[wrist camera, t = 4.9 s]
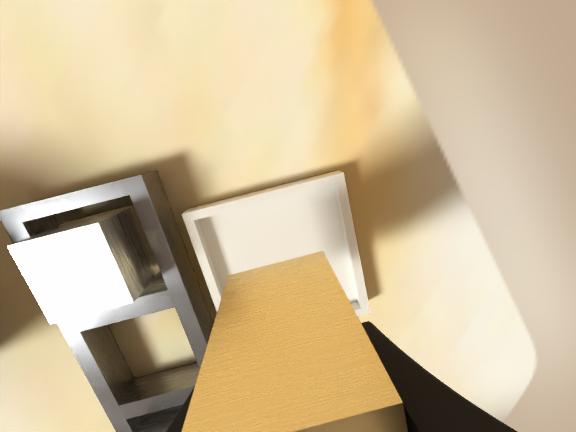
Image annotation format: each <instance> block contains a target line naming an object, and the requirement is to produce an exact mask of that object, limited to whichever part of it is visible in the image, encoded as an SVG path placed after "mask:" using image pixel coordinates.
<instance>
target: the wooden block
mask: <svg viewBox="0 0 576 432" xmlns="http://www.w3.org/2000/svg"><path fill="white" fill-rule="evenodd" d="M182 432H408V429H407V423H406V417H405V412H404V406H403V402H402V400H401V398H400V396H399V394H398V392H397V390H396V389H395V387H394V385H393V383H392V381H391V379H390V377H389V375H388V373H387V371H386V370H385V368H384V366H383V364H382V362H381V360H380V358H379V356H378V354H377V353H376V351H375V349H374V347H373V345H372V343H371V341H370V339H369V337H368V335H367V334H366V332H365V330H364V328H363V326H362V324H361V322H360V320H359V318H358V316H357V315H356V313H355V311H354V309H353V307H352V305H351V303H350V301H349V299H348V297H347V296H346V294H345V292H344V290H343V288H342V286H341V284H340V282H339V280H338V278H337V277H336V275H335V273H334V271H333V269H332V267H331V265H330V263H329V261H328V260H327V258H326V256H325V254H324V252H323V251H320V252H317V253H313V254H309V255H305V256H301V257H297V258H293V259H289V260H286V261H282V262H278V263H274V264H270V265H266V266H262V267H258V268H255V269H251V270H247V271H243V272H239V273H235V274H231V275H228V278H227V281H226V284H225V288H224V291H223V294H222V298H221V301H220V304H219V308H218V311H217V314H216V318H215V321H214V324H213V328H212V331H211V335H210V338H209V341H208V345H207V348H206V351H205V355H204V358H203V361H202V365H201V368H200V371H199V375H198V378H197V381H196V385H195V388H194V392H193V395H192V398H191V402H190V405H189V408H188V412H187V415H186V418H185V422H184V425H183V428H182Z"/></svg>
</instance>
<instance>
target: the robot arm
mask: <svg viewBox="0 0 576 432" xmlns="http://www.w3.org/2000/svg"><path fill="white" fill-rule="evenodd" d="M361 324H362V326H363V328H364V330H365V332H366V334H367V335H368V337H369V339H370V341H371V343H372V345H373V347H374V349H375V351H376V353H377V354H378V356H379V358H380V360H381V362H382V364H383V366H384V368H385V370H386V371H387V373H388V375H389V377H390V379H391V381H392V383H393V385H394V387H395V389H396V390H397V392H398V394H399V396H400V398H401V400H402V402H403V406H404V412H405V417H406V423H407V429H408V432H517V431H515V430H514V429H512V428H510V427H509V426H507V425H506V424H504V423H502V422H501V421H499V420H497V419H496V418H494V417H493V416H491V415H490V414H488V413H487V412H485V411H483V410H482V409H480V408H479V407H477V406H476V405H474V404H473V403H471V402H470V401H468V400H467V399H465V398H464V397H462V396H461V395H459V394H458V393H457V392H455V391H454V390H452V389H451V388H450V387H448V386H447V385H445V384H444V383H443V382H441V381H440V380H439V379H437V378H436V377H435V376H433V375H432V374H431V373H429V372H428V371H427V370H425V369H424V368H423V367H422V366H420V365H419V364H418V363H417V362H415V361H414V360H413V359H412V358H410V357H409V356H408V355H407V354H405V353H404V352H403V351H402V350H401V349H400V348H398V347H397V346H396V345H395V344H394V343H393V342H392V341H390V340H389V339H388V338H387V337H386V336H385V335H384V334H383V333H382V332H381V331H380V330H378V329H377V328H376V327H375V326H374V325H373V324H372V323H371V322H369V321H367V322H364V323H361ZM194 388H195V387H194ZM194 388H193V390H192V391H191V393H190V395H189V396H188V398H187V399H186V401H185V403H184V404H183V406H182V407H181V409H180V410H179V412H178V414H177V415H176V417H175V418H174V420H173V421H172V423H171V424H170V426H169V428H168V429H167V431H166V432H182V428H183V425H184V422H185V418H186V415H187V412H188V408H189V405H190V402H191V398H192V395H193V392H194Z"/></svg>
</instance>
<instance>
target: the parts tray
mask: <svg viewBox="0 0 576 432" xmlns="http://www.w3.org/2000/svg"><path fill="white" fill-rule="evenodd" d="M182 217H183V220H184V223H185V225H186V228H187V231H188V234H189V236H190V239H191V242H192V245H193V247H194V250H195V253H196V256H197V258H198V261H199V264H200V267H201V270H202V272H203V275H204V278H205V281H206V283H207V286H208V289H209V292H210V294H211V297H212V300H213V303H214V305H215V308H216V311H218V308H219V304H220V301H221V298H222V294H223V291H224V288H225V284H226V281H227V278H228V275H231V274H235V273H239V272H243V271H247V270H251V269H255V268H258V267H262V266H266V265H270V264H274V263H278V262H282V261H286V260H289V259H293V258H297V257H301V256H305V255H309V254H313V253H317V252H320V251H323V252H324V254H325V256H326V258H327V260H328V261H329V263H330V265H331V267H332V269H333V271H334V273H335V275H336V277H337V278H338V280H339V282H340V284H341V286H342V288H343V290H344V292H345V294H346V296H347V297H348V299H349V301H350V303H351V305H352V307H353V309H354V311H355V313H356V315H357V316H362V315H366V314H370V308H369V302H368V297H367V292H366V287H365V281H364V276H363V271H362V266H361V260H360V255H359V250H358V245H357V239H356V234H355V229H354V224H353V218H352V213H351V208H350V202H349V197H348V192H347V187H346V181H345V176H344V172H341V171H339V170H338V171H334V172H330V173H326V174H322V175H318V176H314V177H310V178H307V179H303V180H299V181H295V182H291V183H287V184H283V185H279V186H275V187H271V188H268V189H264V190H260V191H256V192H252V193H248V194H244V195H240V196H236V197H232V198H229V199H225V200H221V201H217V202H213V203H209V204H205V205H201V206H197V207H193V208H190V209H187V210H186V211H185V212H183V213H182Z"/></svg>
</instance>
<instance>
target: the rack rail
mask: <svg viewBox="0 0 576 432" xmlns="http://www.w3.org/2000/svg"><path fill="white" fill-rule="evenodd" d="M127 195H130V198H131V200H132V202H133V205H131V206H127V207H123V208H119V209H115V210H111V211H107V212H103V213H99V214H95V215H91V216H88V217H84V218H80V219H76V220H72V221H69V222H66V223H64V224H61V225H58V223H57V221H56V219H55V217H54V215H53V214H57V213H61V212H65V211H69V210H73V209H76V208H80V207H84V206H88V205H92V204H96V203H100V202H104V201H108V200H112V199H116V198H119V197H123V196H127ZM0 220H1V222H2V224H3V226H4V228H5V229H6V231H7V233H8V235H9V237H10V238H11V240H12V242H13V244H12V245H9V246H7V247H8V249H9V251H10V253H11V255H12V256H13V258H14V260H15V262H16V264H17V265H18V267H19V269H20V271H21V273H22V274H23V276H24V278H25V280H26V282H27V283H28V285H29V287H30V289H31V291H32V292H33V294H34V296H35V298H36V300H37V301H38V303H39V305H40V307H41V309H42V310H43V312H44V314H45V316H46V318H47V319H48V321H49V323H50V324H53V323H57V324H58V326H59V328H60V330H61V332H62V334H63V335H64V337H65V339H66V341H67V343H68V344H69V346H70V348H71V350H72V352H73V354H74V355H75V357H76V359H77V361H78V363H79V365H80V366H81V368H82V370H83V372H84V374H85V376H86V377H87V379H88V381H89V383H90V385H91V387H92V388H93V390H94V392H95V394H96V396H97V397H98V399H99V401H100V403H101V405H102V407H103V408H104V410H105V412H106V414H107V416H108V418H109V419H110V421H111V423H112V425H113V427H114V429H115V430H116V432H166V431H167V429H168V428H169V426H170V424H171V423H172V421H173V420H174V418H175V417H176V415H177V414H178V412H179V410H180V409H181V407H182V406H183V404H184V403H185V401H186V399H187V398H188V396H189V395H190V393H191V391H192V390H193V388H194V387H195V385H196V381H197V378H198V375H199V371H200V368H201V365H202V361H203V358H204V355H205V351H206V348H207V345H208V341H209V338H210V335H211V331H212V328H213V321H212V319H211V316H210V313H209V310H208V308H207V305H206V302H205V300H204V297H203V294H202V292H201V289H200V286H199V283H198V281H197V278H196V275H195V273H194V270H193V267H192V265H191V262H190V259H189V256H188V254H187V251H186V248H185V246H184V243H183V240H182V238H181V235H180V232H179V229H178V227H177V224H176V221H175V219H174V216H173V213H172V211H171V208H170V205H169V202H168V200H167V197H166V194H165V192H164V189H163V186H162V184H161V181H160V178H159V175H158V173H157V171H153V172H149V173H145V174H141V175H137V176H133V177H129V178H125V179H122V180H118V181H114V182H110V183H106V184H102V185H98V186H94V187H90V188H86V189H82V190H78V191H74V192H71V193H67V194H63V195H59V196H55V197H51V198H47V199H43V200H39V201H35V202H31V203H27V204H23V205H20V206H16V207H12V208H8V209H4V210H0ZM159 271H161V274H162V276H163V278H159V279H155V280H153V279H154V277H155V276H156V275H157V274H158V273H159ZM174 307H175V308H176V311H177V313H178V316H179V318H180V321H181V323H182V326H183V328H184V330H185V333H186V335H187V338H188V340H189V343H190V345H191V348H192V350H193V353H194V355H195V358H196V360H197V362H196V363H192V364H189V365H185V366H181V367H177V368H173V369H170V370H166V371H162V372H158V373H154V374H150V375H147V376H143V377H139V378H135V379H134V378H133V376H132V374H131V372H130V370H129V368H128V366H127V364H126V362H125V360H124V358H123V356H122V354H121V352H120V350H119V348H118V346H117V343H116V341H115V339H114V337H113V335H112V333H111V331H110V329H109V327H108V324H112V323H116V322H120V321H123V320H127V319H131V318H135V317H139V316H143V315H147V314H150V313H154V312H158V311H162V310H166V309H170V308H174Z"/></svg>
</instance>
